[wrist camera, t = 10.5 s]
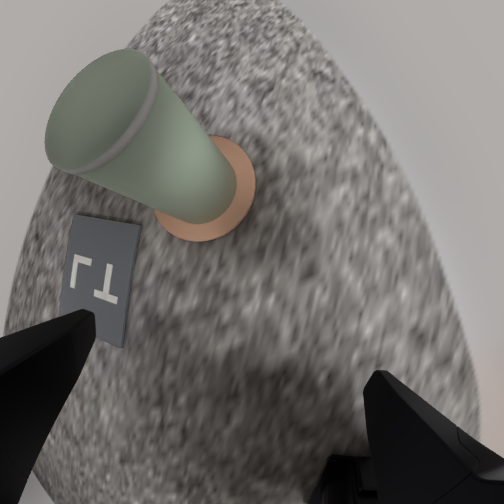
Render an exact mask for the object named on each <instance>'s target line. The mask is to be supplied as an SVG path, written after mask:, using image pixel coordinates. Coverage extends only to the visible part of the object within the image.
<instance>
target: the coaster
mask: <svg viewBox="0 0 504 504" xmlns="http://www.w3.org/2000/svg"><path fill="white" fill-rule="evenodd" d="M209 137H210V138H211V139H212V140H213V142H214V143H215V144H216V146H217V147H218V148H219V150H220V151H221V152H222V154H223V155H224V156H225V157H226V159H227V160H228V161H229V163H230V164H231V166H232V167H233V169H234V171H235V174H236V179H237V189H236V194H235V197H234V199H233V201H232V203H231V205H230V206H229V208H228V209H227V210H226V211H225V212H224V213H223V214H222V215H221V216H220V217H218V218H217V219H215V220H213V221H211V222H208V223H204V224H190V223H187V222H184V221H182V220H179V219H177V218H175V217H172V216H170V215H168V214H165V213H163V212H161V211H158V210H156V209H154V208H153V209H154V213H155V215H156V217H157V219H158V221H159V222H160V224H161V225H162V226H163V227H164V228H165V229H166V230H167V231H168V232H169V233H171V234H172V235H174V236H176V237H178V238H181V239H184V240H188V241H192V242H206V241H212V240H215V239H218V238H220V237H223V236H225V235H226V234H228V233H229V232H231V231H232V230H234V229H235V228H236V227H237V226H238V225H239V224H240V223H241V222H242V221H243V219H244V218H245V217H246V215H247V214H248V212H249V210H250V208H251V206H252V204H253V201H254V197H255V193H256V176H255V171H254V168H253V165H252V163H251V161H250V159H249V157H248V156H247V154H246V153H245V152H244V151H243V150H242V148H241V147H239V146H238V145H237V144H236V143H234V142H232V141H231V140H228V139H226V138H223V137H219V136H209Z"/></svg>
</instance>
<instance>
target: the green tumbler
mask: <svg viewBox="0 0 504 504" xmlns="http://www.w3.org/2000/svg"><path fill="white" fill-rule="evenodd" d="M45 150H46V155H47V157H48V160H49V161H50V163H51V164H52V165H53V166H54V167H55V168H57V169H59V170H61V171H64V172H66V173H69V174H72V175H76V176H79V177H81V178H83V179H86V180H88V181H90V182H93V183H95V184H97V185H100V186H102V187H104V188H107V189H109V190H112V191H114V192H116V193H119V194H121V195H123V196H126V197H128V198H130V199H133V200H135V201H137V202H140V203H142V204H144V205H147V206H149V207H151V208H154V209H156V210H158V211H161V212H163V213H165V214H168V215H170V216H172V217H175V218H177V219H179V220H182V221H184V222H187V223H190V224H204V223H208V222H211V221H213V220H215V219H217V218H218V217H220V216H221V215H222V214H223V213H224V212H225V211H226V210H227V209H228V208H229V206H230V205H231V203H232V201H233V199H234V197H235V194H236V189H237V179H236V174H235V171H234V169H233V167H232V166H231V164H230V163H229V161H228V160H227V159H226V157H225V156H224V155H223V154H222V152H221V151H220V150H219V148H218V147H217V146H216V144H215V143H214V142H213V140H212V139H211V138H210V137H209V135H208V134H207V133H206V131H205V130H204V129H203V128H202V126H201V125H200V124H199V123H198V121H197V120H196V119H195V117H194V116H193V115H192V114H191V112H190V111H189V110H188V109H187V107H186V106H185V105H184V104H183V102H182V101H181V100H180V99H179V97H178V96H177V95H176V94H175V92H174V91H173V90H172V89H171V87H170V86H169V85H168V84H167V82H166V81H165V80H164V79H163V78H162V76H161V75H160V74H159V73H158V71H157V70H156V68H155V66H154V65H153V63H152V62H151V61H150V60H149V58H148V57H147V56H146V55H145V54H143V53H142V52H140V51H138V50H134V49H121V50H117V51H113V52H110V53H108V54H105V55H103V56H101V57H99V58H98V59H96V60H94V61H93V62H92V63H90V64H89V65H88V66H86V67H85V68H84V69H82V70H81V71H80V72H79V73H78V74H77V75H76V76H75V77H74V78H73V80H71V82H70V83H69V84H68V85H67V86H66V88H65V89H64V91H63V92H62V93H61V95H60V97H59V98H58V100H57V102H56V104H55V106H54V107H53V110H52V112H51V114H50V117H49V120H48V124H47V127H46V133H45Z"/></svg>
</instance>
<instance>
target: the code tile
mask: <svg viewBox="0 0 504 504" xmlns="http://www.w3.org/2000/svg"><path fill="white" fill-rule="evenodd" d="M141 227H142V226H141V225H135V224H130V223H124V222H118V221H112V220H106V219H100V218H94V217H88V216H82V215H76V214H74V216H73V220H72V225H71V230H70V235H69V241H68V247H67V253H66V259H65V266H64V273H63V281H62V289H61V299H60V311H59V317H60V316H63V315H66V314H68V313H71V312H74V311H77V310H80V309H86V310H89V311H92V312H93V313H94V314H95V322H96V337H97V338H99V339H101V340H103V341H105V342H108V343H110V344H112V345H115V346H117V347H119V348H123V343H124V333H125V324H126V316H127V308H128V301H129V294H130V287H131V281H132V275H133V269H134V263H135V257H136V252H137V247H138V241H139V236H140V232H141Z"/></svg>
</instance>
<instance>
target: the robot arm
mask: <svg viewBox="0 0 504 504" xmlns="http://www.w3.org/2000/svg"><path fill="white" fill-rule="evenodd" d="M95 338H96V322H95V314H94V313H93V312H92V311H89V310H86V309H80V310H77V311H74V312H71V313H68V314H66V315H63V316H60V317H57V318H54V319H52V320H49V321H46V322H43V323H40V324H38V325H35V326H32V327H29V328H26V329H24V330H21V331H18V332H15V333H12V334H10V335H7V336H4V337H1V338H0V504H18V503H19V500H20V497H21V495H22V492H23V490H24V487H25V485H26V483H27V479H28V477H29V475H30V473H31V471H32V468H33V466H34V464H35V462H36V460H37V457H38V455H39V453H40V451H41V449H42V447H43V445H44V443H45V441H46V438H47V436H48V434H49V432H50V430H51V428H52V426H53V424H54V422H55V421H56V419H57V417H58V415H59V413H60V411H61V409H62V407H63V405H64V403H65V402H66V400H67V398H68V396H69V394H70V392H71V391H72V389H73V387H74V385H75V383H76V382H77V380H78V378H79V376H80V373H81V371H82V369H83V366H84V364H85V362H86V359H87V357H88V355H89V352H90V350H91V348H92V346H93V344H94V341H95ZM363 398H364V408H365V418H366V429H367V436H368V441H369V446H370V452H371V457H360V456H358V457H351V456H341V455H331V456H330V457H328V459H327V461H326V464H325V466H324V469H323V471H322V473H321V475H320V478H319V480H318V482H317V484H316V487H315V489H314V491H313V493H312V495H311V497H310V499H309V502H308V504H504V458H502V457H501V456H499V455H498V454H496V453H495V452H493V451H492V450H490V449H489V448H487V447H485V446H484V445H482V444H481V443H479V442H478V441H477V440H475V439H474V438H472V437H471V436H470V435H468V434H467V433H466V432H464V431H463V430H462V429H460V428H459V427H458V426H457V427H456V425H455V424H454V423H453V422H451V421H450V420H449V419H448V418H446V417H445V416H444V415H442V414H441V413H440V412H439V411H437V410H436V409H435V408H434V407H432V406H431V405H430V404H428V403H427V402H426V401H425V400H423V399H422V398H421V397H420V396H418V395H417V394H416V393H415V392H413V391H412V390H411V389H409V388H408V387H407V386H406V385H404V384H403V383H402V382H401V381H399V380H398V379H397V378H396V377H394V376H393V375H392V374H391V373H389V372H388V371H386V370H376V371H374V372H373V374H372V376H371V377H370V379H369V381H368V382H367V384H366V385H365V387H364V390H363ZM332 460H337V461H335V462H331V461H332Z"/></svg>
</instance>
